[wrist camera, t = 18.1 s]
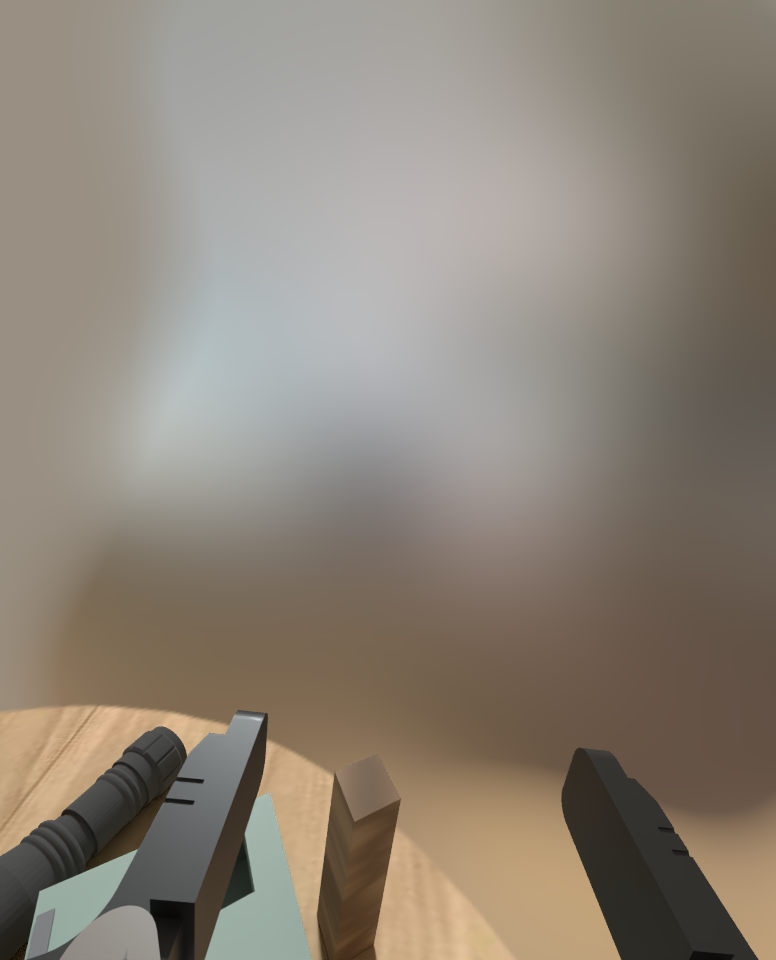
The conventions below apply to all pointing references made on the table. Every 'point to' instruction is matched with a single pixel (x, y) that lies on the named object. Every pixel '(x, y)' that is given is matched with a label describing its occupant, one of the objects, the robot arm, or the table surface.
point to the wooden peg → (356, 857)
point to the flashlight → (83, 830)
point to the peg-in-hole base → (243, 916)
